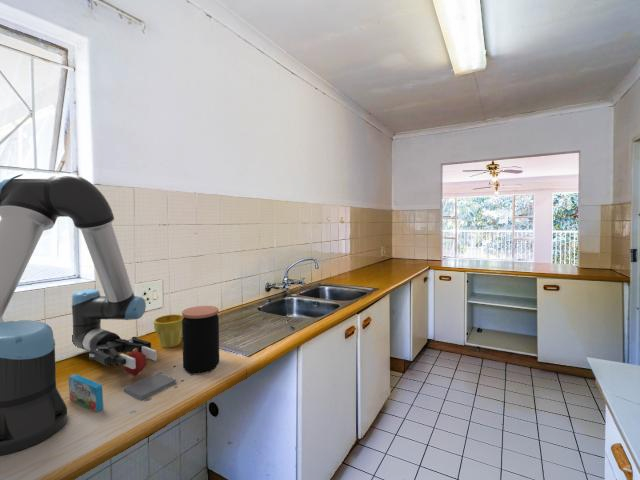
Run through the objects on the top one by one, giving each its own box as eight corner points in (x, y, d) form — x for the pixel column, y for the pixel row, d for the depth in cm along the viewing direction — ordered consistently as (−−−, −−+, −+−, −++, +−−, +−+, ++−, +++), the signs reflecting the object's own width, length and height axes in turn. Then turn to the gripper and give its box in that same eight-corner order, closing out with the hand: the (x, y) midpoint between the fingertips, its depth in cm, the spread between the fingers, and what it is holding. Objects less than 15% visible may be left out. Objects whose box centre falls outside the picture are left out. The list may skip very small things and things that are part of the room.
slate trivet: (140, 400, 82) (140, 396, 82) (123, 391, 86) (123, 387, 86) (175, 383, 91) (175, 379, 91) (158, 375, 95) (158, 372, 95)
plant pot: (158, 352, 111) (157, 324, 110) (151, 343, 119) (151, 317, 118) (189, 345, 117) (188, 319, 116) (181, 337, 125) (180, 312, 124)
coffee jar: (199, 357, 107) (198, 304, 106) (226, 362, 104) (225, 307, 103) (175, 371, 97) (173, 313, 96) (204, 377, 94) (203, 317, 93)
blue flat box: (103, 409, 78) (102, 385, 78) (96, 412, 77) (95, 387, 76) (76, 396, 84) (75, 373, 83) (69, 399, 82) (68, 376, 82)
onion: (136, 381, 90) (135, 354, 90) (118, 379, 92) (118, 352, 91) (151, 372, 96) (150, 345, 96) (134, 370, 97) (133, 344, 97)
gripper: (132, 344, 111) (175, 360, 99) (68, 365, 95) (110, 387, 83) (131, 323, 110) (174, 336, 99) (67, 340, 94) (109, 359, 82)
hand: (145, 359), depth 91 cm, fingers closed on onion, 6 cm apart
